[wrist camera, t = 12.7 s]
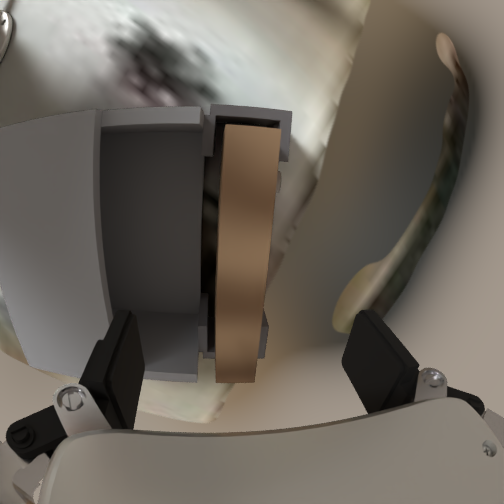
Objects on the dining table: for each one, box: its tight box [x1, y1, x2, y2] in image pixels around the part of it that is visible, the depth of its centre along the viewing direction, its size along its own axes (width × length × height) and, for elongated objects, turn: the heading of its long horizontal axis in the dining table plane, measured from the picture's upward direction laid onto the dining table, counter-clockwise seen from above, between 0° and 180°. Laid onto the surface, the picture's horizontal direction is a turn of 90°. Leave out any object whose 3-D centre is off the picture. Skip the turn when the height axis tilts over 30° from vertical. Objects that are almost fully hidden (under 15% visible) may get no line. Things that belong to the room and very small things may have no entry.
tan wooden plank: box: [215, 124, 281, 383], centre depth 23 cm, size 18×4×11 cm, turn 176°
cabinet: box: [0, 104, 292, 382], centre depth 21 cm, size 22×22×11 cm
